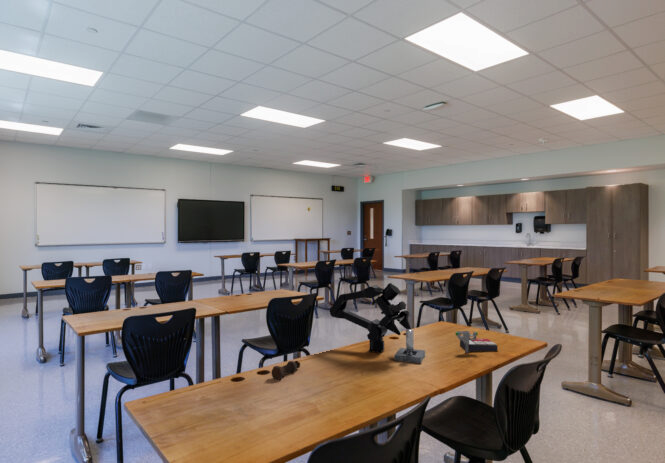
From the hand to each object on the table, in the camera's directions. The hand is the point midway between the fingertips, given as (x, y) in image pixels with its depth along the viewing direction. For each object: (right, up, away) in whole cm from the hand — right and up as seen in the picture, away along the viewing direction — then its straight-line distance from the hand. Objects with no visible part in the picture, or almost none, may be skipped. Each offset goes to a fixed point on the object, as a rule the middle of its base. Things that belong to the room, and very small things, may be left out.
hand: (405, 332), depth 186 cm
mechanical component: (+31, -11, +6) cm, 33 cm away
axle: (+2, -11, -2) cm, 12 cm away
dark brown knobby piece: (-53, -12, -20) cm, 58 cm away
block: (+2, -11, -2) cm, 12 cm away
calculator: (+39, -12, +13) cm, 43 cm away
